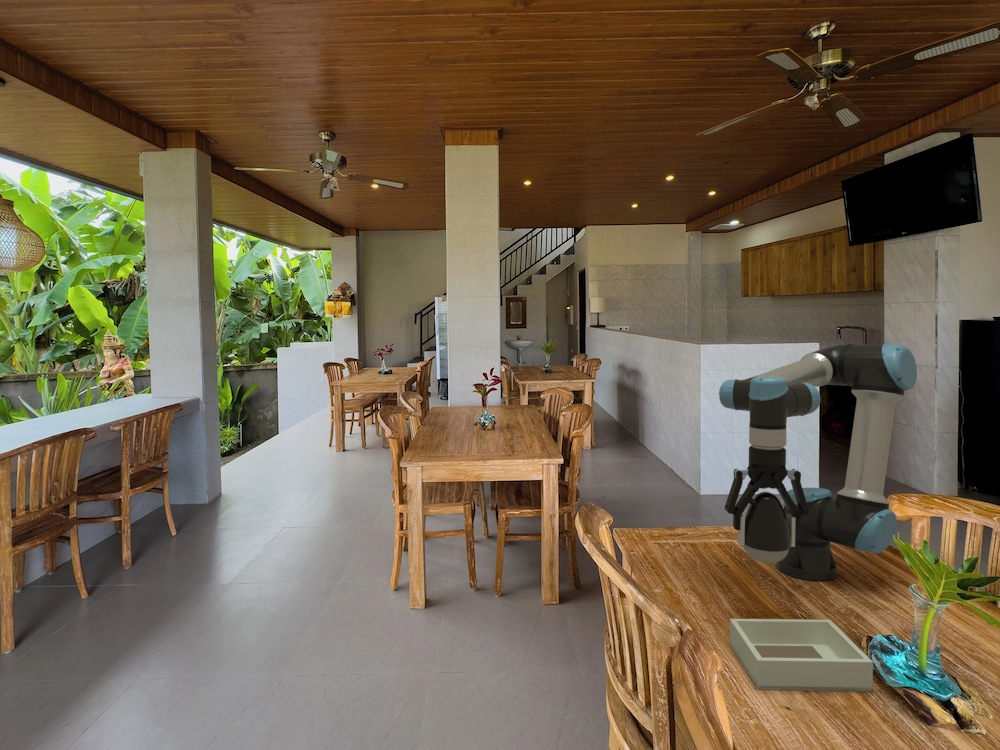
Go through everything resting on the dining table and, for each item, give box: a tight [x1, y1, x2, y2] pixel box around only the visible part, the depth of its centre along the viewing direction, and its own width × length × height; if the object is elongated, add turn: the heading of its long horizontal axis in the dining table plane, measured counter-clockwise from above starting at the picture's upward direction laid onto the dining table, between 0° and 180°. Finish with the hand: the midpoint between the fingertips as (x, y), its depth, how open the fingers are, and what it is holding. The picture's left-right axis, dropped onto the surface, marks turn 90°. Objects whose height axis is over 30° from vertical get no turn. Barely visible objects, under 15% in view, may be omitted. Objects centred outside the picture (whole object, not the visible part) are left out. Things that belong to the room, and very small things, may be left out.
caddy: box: [729, 618, 874, 693], centre depth 117 cm, size 21×16×6 cm
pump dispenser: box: [743, 491, 791, 564], centre depth 129 cm, size 10×10×15 cm
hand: (765, 544), depth 130 cm, fingers closed on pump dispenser, 10 cm apart
